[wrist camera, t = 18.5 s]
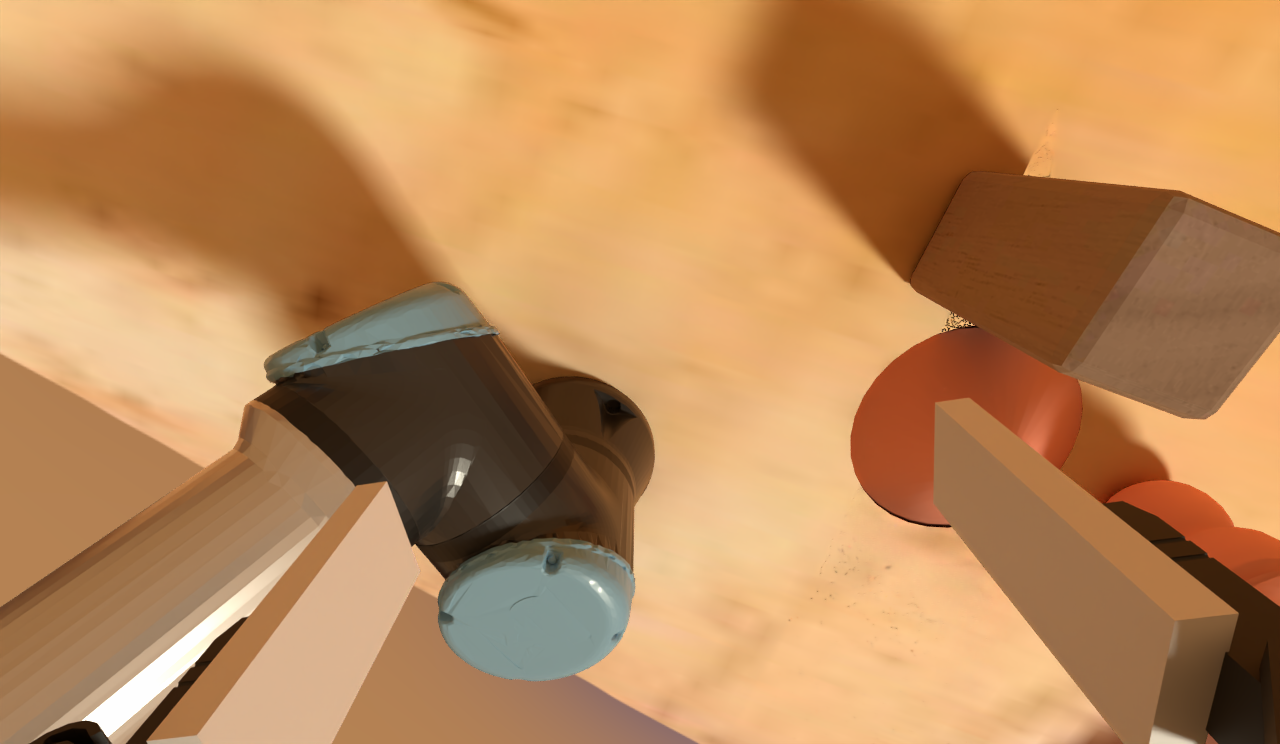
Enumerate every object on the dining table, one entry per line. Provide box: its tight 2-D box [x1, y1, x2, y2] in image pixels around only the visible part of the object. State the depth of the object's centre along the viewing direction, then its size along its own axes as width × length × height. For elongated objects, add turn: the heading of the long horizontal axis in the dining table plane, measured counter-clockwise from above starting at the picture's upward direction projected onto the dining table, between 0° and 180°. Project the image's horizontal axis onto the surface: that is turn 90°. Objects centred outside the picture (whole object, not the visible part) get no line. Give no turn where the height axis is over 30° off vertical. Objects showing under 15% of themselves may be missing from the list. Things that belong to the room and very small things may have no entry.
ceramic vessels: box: [851, 325, 1280, 606], centre depth 47 cm, size 35×21×19 cm, turn 65°
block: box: [910, 171, 1280, 419], centre depth 39 cm, size 10×10×20 cm
